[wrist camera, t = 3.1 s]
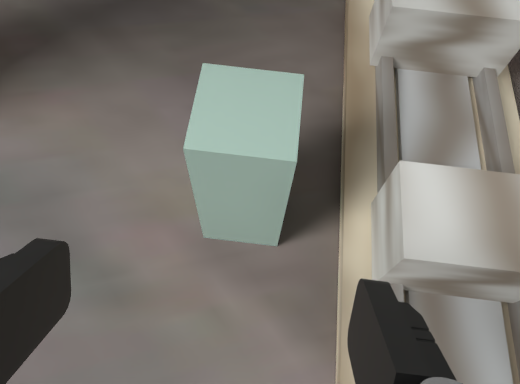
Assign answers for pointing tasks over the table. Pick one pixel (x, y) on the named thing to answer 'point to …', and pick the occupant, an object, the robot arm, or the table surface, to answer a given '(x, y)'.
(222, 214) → the sage module
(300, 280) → the table surface
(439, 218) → the rail board
